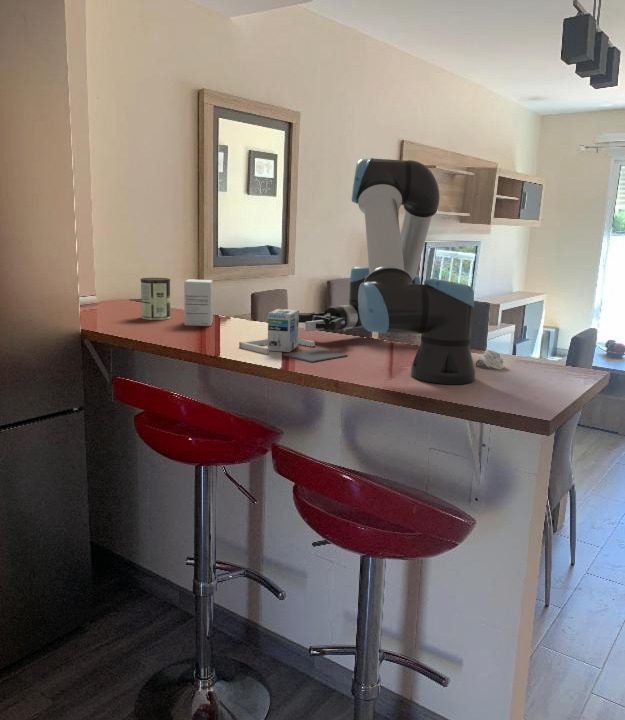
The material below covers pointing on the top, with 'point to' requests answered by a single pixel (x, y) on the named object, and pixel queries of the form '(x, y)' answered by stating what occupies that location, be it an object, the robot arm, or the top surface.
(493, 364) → the whitish grey rock
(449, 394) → the top surface
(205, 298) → the supplement box
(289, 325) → the light bulb box
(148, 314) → the coffee can
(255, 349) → the grey bent bar
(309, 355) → the rubber mat
